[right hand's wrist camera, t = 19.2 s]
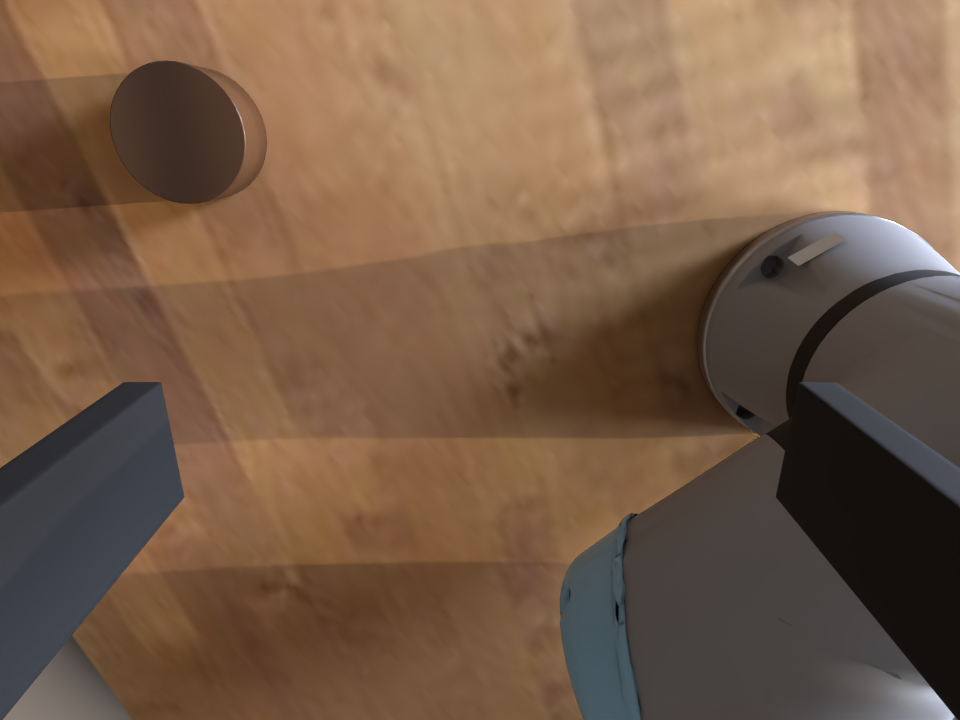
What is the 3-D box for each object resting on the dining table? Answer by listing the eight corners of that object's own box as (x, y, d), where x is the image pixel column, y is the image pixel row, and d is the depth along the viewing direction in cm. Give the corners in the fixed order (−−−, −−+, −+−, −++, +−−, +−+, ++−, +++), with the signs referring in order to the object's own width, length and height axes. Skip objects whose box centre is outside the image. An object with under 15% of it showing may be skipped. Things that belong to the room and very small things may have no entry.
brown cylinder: (258, 67, 34) (235, 60, 31) (273, 197, 37) (253, 203, 33) (132, 67, 34) (95, 60, 31) (156, 197, 37) (124, 203, 33)
